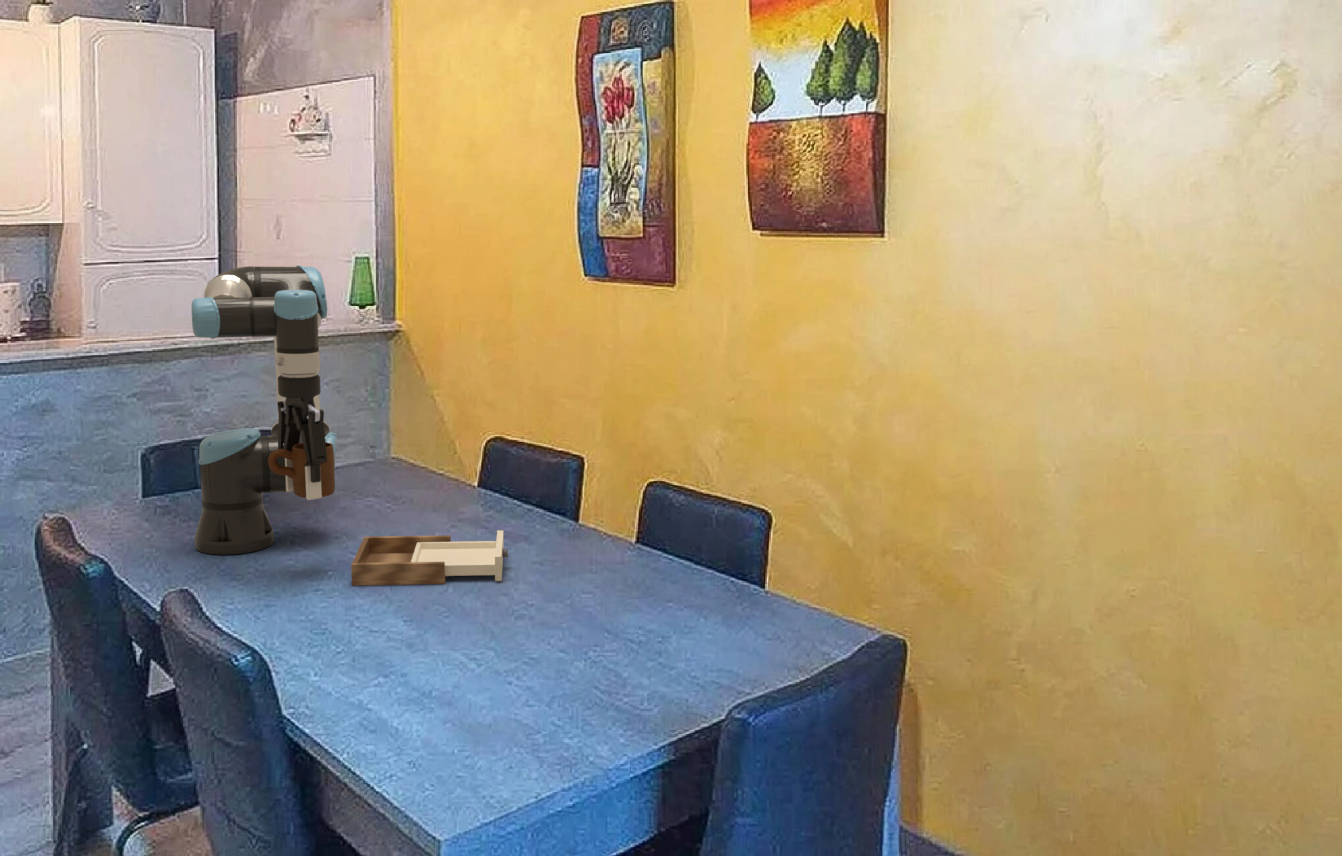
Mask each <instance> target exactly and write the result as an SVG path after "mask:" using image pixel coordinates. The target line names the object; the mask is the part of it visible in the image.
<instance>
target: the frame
mask: <svg viewBox="0 0 1342 856" xmlns="http://www.w3.org/2000/svg"><path fill="white" fill-rule="evenodd" d="M417 542H452V537H451V535H450V534H449V535H448V534H447V535H393V536H392V535H387V536H384V535H383V536H381V535H380V536H378V535H377V536H374V535H371V536H364V537H363V539H362V541H361V544H360V545H359V547H358V549H357V552H356V554H355V556H354V558H353V560H352V562H351V565H350V566H351V567H350V568H351V569H350V570H351V571H350V572H351V574H350V575H351V586H391V585H392V586H394V585H395V586H397V585H398V586H399V585H405V586H406V585H443V584H444V585H446V580H447V576H445V562H411V560H412V557H413V554H414V551H415V547H416V544H417Z"/></svg>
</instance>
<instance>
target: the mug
mask: <svg viewBox="0 0 1342 856" xmlns="http://www.w3.org/2000/svg"><path fill="white" fill-rule="evenodd" d="M325 443H326V453H327V462H325V463H322V464H321V465H320V466H321V492H322V498H324V497H329V496H332V495H333V494H334V493H335V490H336V481H335V480H336V479H335V478H336V476H335V474H336V473H335V472H336V470H335V469H334V451H333V445H332V444H331V443H328V442H325ZM278 457H283V458H286V459H290V460H292V467H293V468H290V467H281V466H279V465H278V463H277V461H276V459H277V458H278ZM305 463H307V459H306V454H305V449H304V445H303V443H298V444H295V445H293V447H292V451H288V450H285V449H277V450H275V451H273V452H272V453H271V454H270V456H269V458H268V464H269V467H270V469H271V470H272V471H273V472H274V473H276V474H278V475H284V476H288V477H290V478H291V479H293V487H294V491H293V493H294V495H295V496H297V497H299V498H306V478H305V466H304V464H305Z"/></svg>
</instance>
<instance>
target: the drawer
mask: <svg viewBox="0 0 1342 856" xmlns="http://www.w3.org/2000/svg"><path fill="white" fill-rule="evenodd" d="M496 533H497V534H496V540H495V541H494V540H488V541H487V540H486V541H485V540H484V541H483V540H481V541H480V540H479V541H472V540H471V541H451V542H417V544H416V547H415V551H414V554H413V557H412V560H411V562H445V576H446V577H450V576H451V577H454V576H458V577H459V576H461V577H462V576H464V577H465V576H494V580H495V582H502V579H503V578H502V577H503V568H504V567H503V566H504V558H509V552H508V551H509V549H508V548H505V547H504V545H505V544H504V530H496Z"/></svg>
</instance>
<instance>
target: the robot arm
mask: <svg viewBox="0 0 1342 856" xmlns="http://www.w3.org/2000/svg"><path fill="white" fill-rule="evenodd" d="M203 293H204V294H203V297H197V298H194V299H193V300H192V301H191V325H192V332H193V335H194V336H195V337H196V338H205V339H211V340H212V339H222V338H226V339H227V338H262V337H263V338H267V337H269V338H271V337H272V338H273V342H274V343H273V344H274V346H273V347H274V364H275V382H276V400H277V401H276V403H277V422H276V423H274V424H273V425H272V427H271V429H270V435H261V432H260V430H259V429H257V428H255V427H253V428H252V427H251V428H247V427H245V428H244V427H243V428H236V429H229V430H223V431H220V432H216V433H214V434H210V435H209V436H207V437H205V438H204V439H202V440H201V442H200V443H199V459H198V465H199V466H200V467H199V468H200V488H201V489H200V490H201V506H202V507H201V509H202V510H201V513H200V517H199V520H198V524H197V528H196V531H195V535H194V545H195V546H194V547H195V549H196V551H198V552H201V553H206V554H211V555H237V554H239V555H240V554H247V553H251V552H252V553H253V552H256V551H261V550H263V549H267V548H269V547H270V546H272V545H273V544H274V541H275V537H274V536H275V535H274V529H273V527H272V523H271V522H270V519H269V517H268V515H267V514H268V513H267V511H266V509H265V506H264V498H263V495H264V494H270V493H271V494H272V493H290V492H293V493H294V487H293V479H291V478H290V477H288V476H284V475H278V474H276V473H274V472H273V471H272V470H271V469H270V467H269V464H268V458H269V456H270V454H271V453H272V452H273V451H275V450H277V449H285V450H288V451H292V447H293V445H295V444H298V443H303V445H304V449H305V454H306V459H307V463H305V464H304V466H305V478H306V500H307V501H311V500H317V499H322V498H323V497H322V492H321V466H320V465H321V464H322V463H325V462H327V453H326V443H325V442H328V443H331V444H332V445H333V451H334V469H335V468H336V458H337V457H336V455H337V443H338V441H337V439H338V435H337V433H335V432H331V431H330V426H329V425H328V423H327V422H326V421H324V420H325V419H324V417H325V411H324V409H322V408H321V403H320V394H321V392H322V390H321V376H320V375H319V372H321V367H320V366H321V365H320V361H321V360H320V349H319V348H320V347H319V328H320V327H321V325H322V320H324V319H326V318H327V317H328V302H327V300H328V299H327V296H326V288H325V283H324V279H323V276H322V274H321V272H320V271H319V269H318V268H316V267H315V266H302V265H296V266H251V265H250V266H242V267H235V268H232V269H230V270H227V271H224V272H221V273H219V274H217V275H215V276H214V277H213V278H212V279H210V281H209V282H208V283H207V285H206V287H205V290H204V292H203ZM276 461H277V463H278V465H279V466H281V467H290V468H293V467H292V460H290V459H286V458H283V457H278V458H277V459H276Z"/></svg>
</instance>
